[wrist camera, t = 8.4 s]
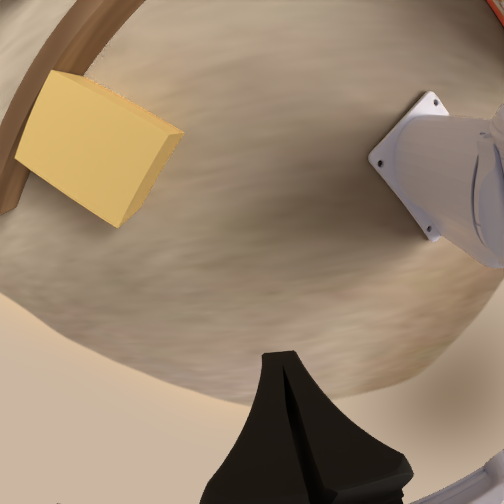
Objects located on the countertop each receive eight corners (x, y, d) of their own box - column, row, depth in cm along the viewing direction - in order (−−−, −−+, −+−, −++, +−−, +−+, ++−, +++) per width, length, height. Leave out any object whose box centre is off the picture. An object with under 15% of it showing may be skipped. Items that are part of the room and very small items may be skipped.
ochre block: (185, 132, 18) (169, 134, 13) (141, 207, 19) (117, 228, 15) (85, 77, 15) (51, 69, 11) (50, 149, 17) (14, 158, 13)
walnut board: (195, -43, 12) (187, -72, 8) (16, 206, 18) (-13, 222, 15) (175, -52, 11) (164, -79, 7) (3, 193, 18) (-26, 207, 14)
